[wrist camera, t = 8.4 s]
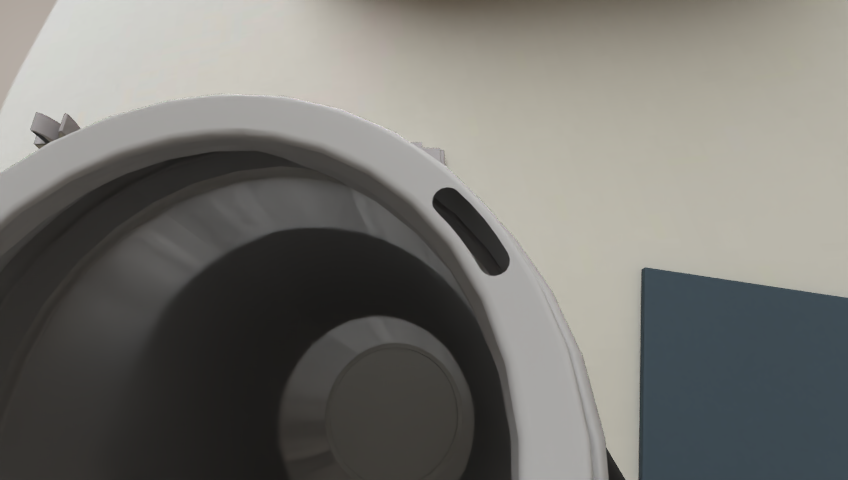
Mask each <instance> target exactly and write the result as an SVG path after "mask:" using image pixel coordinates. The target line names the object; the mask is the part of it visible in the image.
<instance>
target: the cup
mask: <svg viewBox="0 0 848 480" xmlns="http://www.w3.org/2000/svg"><path fill="white" fill-rule="evenodd" d="M0 480H609V476H608V465H607V454H606V443H605V436H604V432H603V428H602V425H601V421H600V417H599V414H598V410H597V407H596V403H595V399H594V396H593V392H592V388H591V385H590V381H589V377H588V374H587V370H586V366H585V363H584V359H583V355H582V353H581V351H580V349H579V347H578V345H577V343H576V340H575V338H574V336H573V334H572V332H571V330H570V328H569V326H568V323H567V321H566V319H565V317H564V315H563V313H562V311H561V309H560V307H559V304H558V302H557V300H556V298H555V296H554V294H553V292H552V290H551V288H550V287H549V285H548V284H547V282H546V281H545V280H544V278H543V277H542V275H541V274H540V272H539V271H538V270H537V268H536V267H535V265H534V264H533V262H532V261H531V259H530V258H529V257H528V255H527V254H526V252H525V251H524V249H523V248H522V247H521V245H520V244H519V242H518V241H517V239H516V238H515V237H514V235H513V234H512V233H511V232H510V231H509V230H508V229H507V228H506V227H505V226H504V225H503V224H502V223H501V222H500V221H499V220H498V218H497V217H496V216H495V214H494V213H493V212H492V211H491V210H490V209H489V208H488V207H487V206H486V205H485V204H484V203H483V202H482V201H481V200H480V199H479V198H478V197H477V196H476V194H475V193H474V192H473V191H472V190H471V189H470V188H469V187H468V186H466V185H465V184H464V183H463V182H462V181H461V180H460V179H459V178H458V177H457V176H456V175H455V174H454V173H453V172H452V171H451V170H450V169H449V168H448V167H446V166H445V165H443V164H442V163H441V162H439V161H438V160H436V159H435V158H433V157H432V156H431V155H429V154H428V153H426V152H425V151H423V150H422V149H420V148H419V147H417V146H415V145H414V144H412V143H411V142H409V141H408V140H406V139H405V138H403V137H402V136H400V135H399V134H397V133H396V132H394V131H392V130H389V129H387V128H385V127H382V126H380V125H378V124H375V123H373V122H371V121H369V120H366V119H364V118H361V117H359V116H357V115H354V114H352V113H350V112H347V111H345V110H343V109H339V108H335V107H331V106H326V105H322V104H317V103H313V102H308V101H304V100H300V99H295V98H291V97H286V96H269V95H243V94H214V95H206V96H198V97H190V98H182V99H174V100H167V101H164V102H160V103H156V104H153V105H149V106H145V107H142V108H138V109H135V110H131V111H127V112H124V113H120V114H116V115H113V116H109V117H107V118H105V119H102V120H100V121H98V122H95V123H93V124H91V125H89V126H86V127H84V128H82V129H79V130H77V131H75V132H73V133H70V134H68V135H66V136H63V137H61V138H59V139H57V140H54V141H52V142H50V143H48V144H46V145H45V146H43V147H42V148H40V149H38V150H37V151H35V152H33V153H32V154H30V155H28V156H27V157H25V158H23V159H22V160H20V161H19V162H17V163H15V164H14V165H12V166H10V167H9V168H7V169H5V170H4V171H2V172H1V173H0Z"/></svg>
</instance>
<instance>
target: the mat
mask: <svg viewBox="0 0 848 480" xmlns="http://www.w3.org/2000/svg"><path fill="white" fill-rule="evenodd" d="M639 480H848V298H844V297H837V296H831V295H824V294H817V293H811V292H804V291H798V290H791V289H784V288H778V287H771V286H764V285H758V284H751V283H744V282H738V281H731V280H724V279H718V278H711V277H705V276H698V275H691V274H685V273H678V272H671V271H665V270H658V269H651V268H644V269H642V293H641V370H640V447H639Z"/></svg>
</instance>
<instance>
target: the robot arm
mask: <svg viewBox="0 0 848 480" xmlns="http://www.w3.org/2000/svg"><path fill="white" fill-rule="evenodd" d="M606 454H607V465H608V476H609V480H625V478H624V477H623V475H622V473H621V472H620V470H619V468H618V467H617V465H616V463H615V462H614V460H613V458H612V457H611V455H610V453H609V451H608V450H607V448H606Z"/></svg>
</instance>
